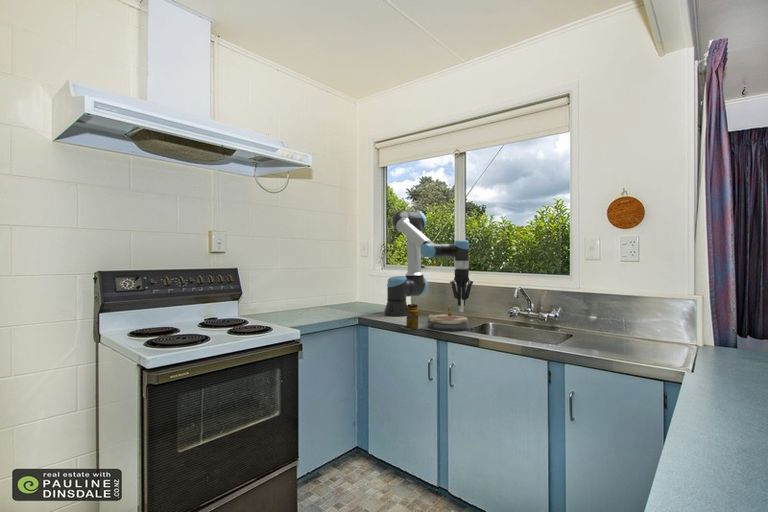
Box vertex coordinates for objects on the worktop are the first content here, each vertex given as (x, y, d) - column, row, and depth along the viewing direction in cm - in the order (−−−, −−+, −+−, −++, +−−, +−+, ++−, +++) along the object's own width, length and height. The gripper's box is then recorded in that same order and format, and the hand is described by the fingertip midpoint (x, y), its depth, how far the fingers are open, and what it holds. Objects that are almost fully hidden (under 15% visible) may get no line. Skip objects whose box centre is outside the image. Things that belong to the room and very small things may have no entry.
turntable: (423, 318, 213) (423, 306, 212) (457, 316, 217) (457, 305, 217) (436, 325, 193) (436, 311, 193) (474, 323, 198) (474, 310, 198)
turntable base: (421, 323, 213) (422, 314, 213) (458, 322, 218) (458, 313, 218) (435, 332, 193) (436, 321, 192) (475, 330, 197) (475, 320, 197)
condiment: (421, 328, 202) (421, 304, 202) (408, 330, 197) (408, 306, 197) (413, 325, 208) (413, 303, 208) (399, 327, 203) (400, 304, 203)
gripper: (453, 269, 210) (452, 313, 210) (475, 268, 212) (475, 312, 213) (447, 268, 217) (447, 311, 217) (469, 268, 220) (469, 310, 220)
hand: (461, 311), depth 215 cm, fingers closed
